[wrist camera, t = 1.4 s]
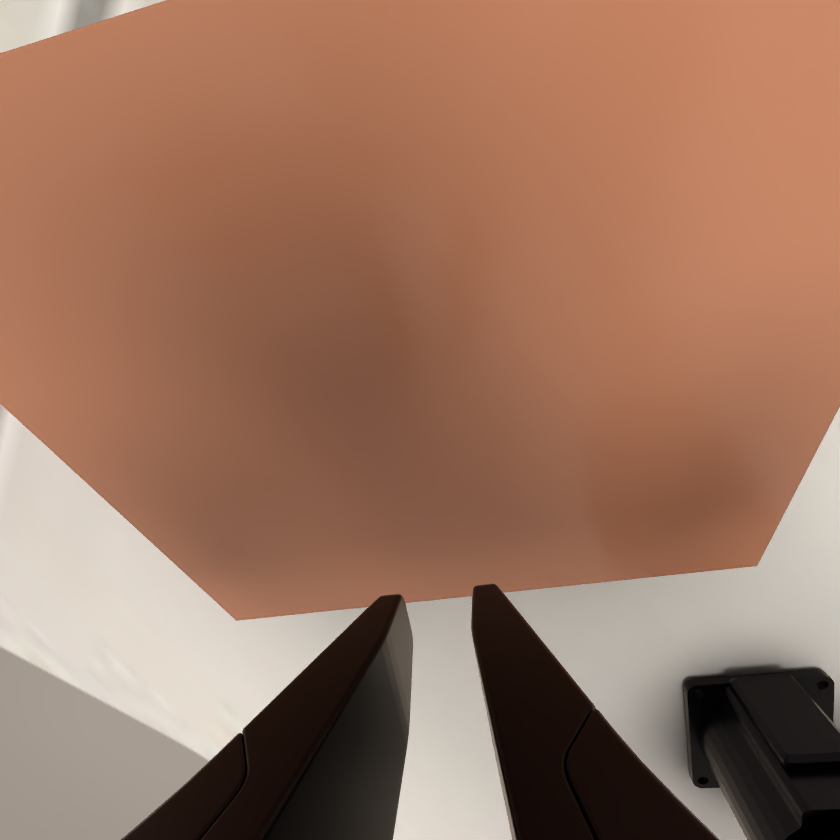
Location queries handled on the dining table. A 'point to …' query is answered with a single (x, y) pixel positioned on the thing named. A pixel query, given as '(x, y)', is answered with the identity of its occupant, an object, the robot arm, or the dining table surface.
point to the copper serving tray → (428, 285)
